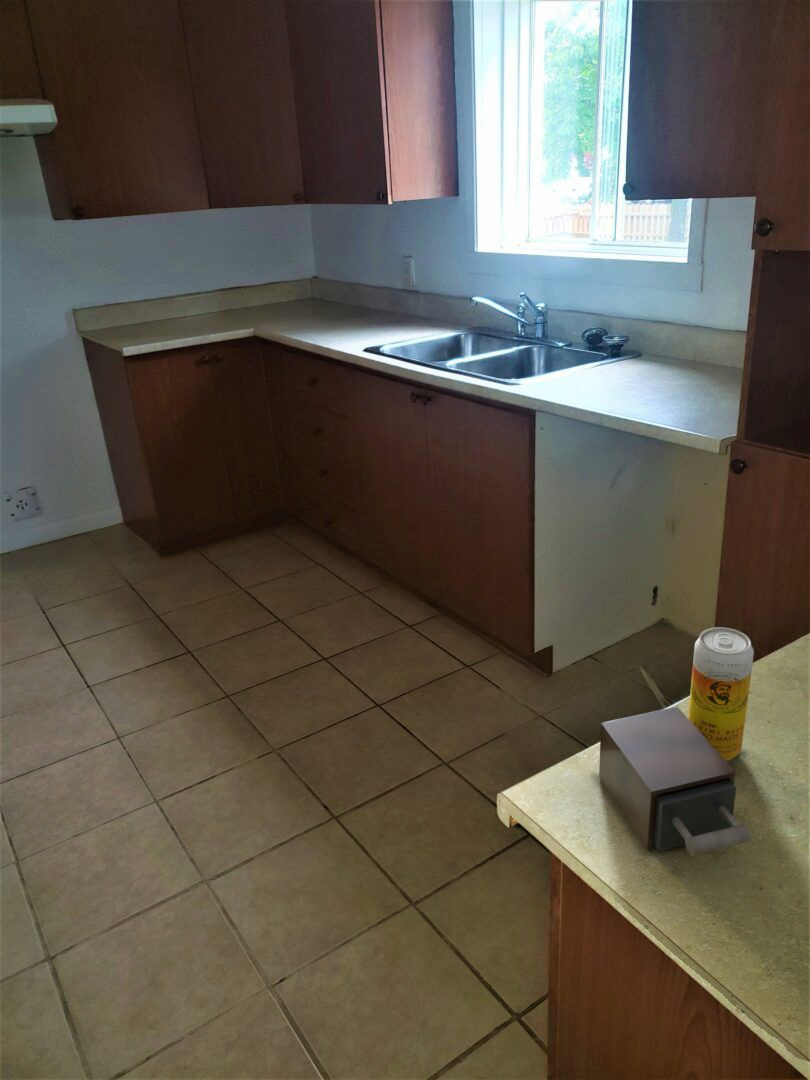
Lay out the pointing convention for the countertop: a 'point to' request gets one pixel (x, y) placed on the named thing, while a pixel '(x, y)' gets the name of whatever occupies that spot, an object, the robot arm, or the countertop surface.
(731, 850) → the countertop surface
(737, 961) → the countertop surface
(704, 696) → the beer can
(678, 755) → the cabinet
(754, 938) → the countertop surface
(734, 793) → the drawer
